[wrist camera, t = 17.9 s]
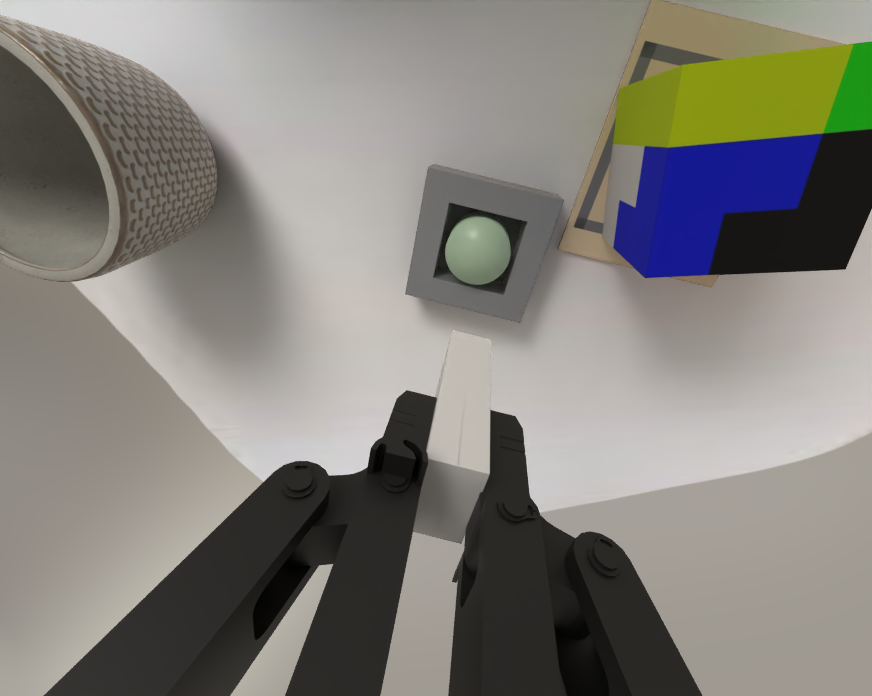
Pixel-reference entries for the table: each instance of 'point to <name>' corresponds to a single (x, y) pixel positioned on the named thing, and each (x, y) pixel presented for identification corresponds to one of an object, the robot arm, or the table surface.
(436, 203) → the button box
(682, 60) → the sheet
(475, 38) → the table surface
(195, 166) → the planter
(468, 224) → the button
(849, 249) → the puzzle toy
